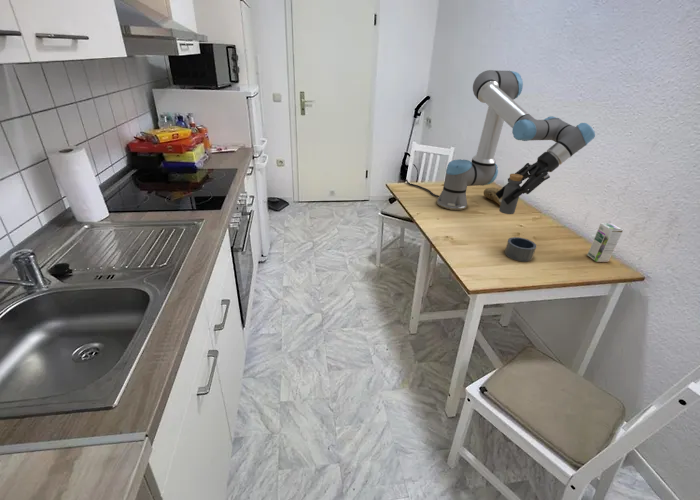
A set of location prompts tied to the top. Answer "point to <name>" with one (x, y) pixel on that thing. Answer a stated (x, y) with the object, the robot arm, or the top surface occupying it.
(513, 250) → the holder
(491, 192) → the bread loaf
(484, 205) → the top surface
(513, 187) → the bottle
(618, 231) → the syrup box
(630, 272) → the top surface
